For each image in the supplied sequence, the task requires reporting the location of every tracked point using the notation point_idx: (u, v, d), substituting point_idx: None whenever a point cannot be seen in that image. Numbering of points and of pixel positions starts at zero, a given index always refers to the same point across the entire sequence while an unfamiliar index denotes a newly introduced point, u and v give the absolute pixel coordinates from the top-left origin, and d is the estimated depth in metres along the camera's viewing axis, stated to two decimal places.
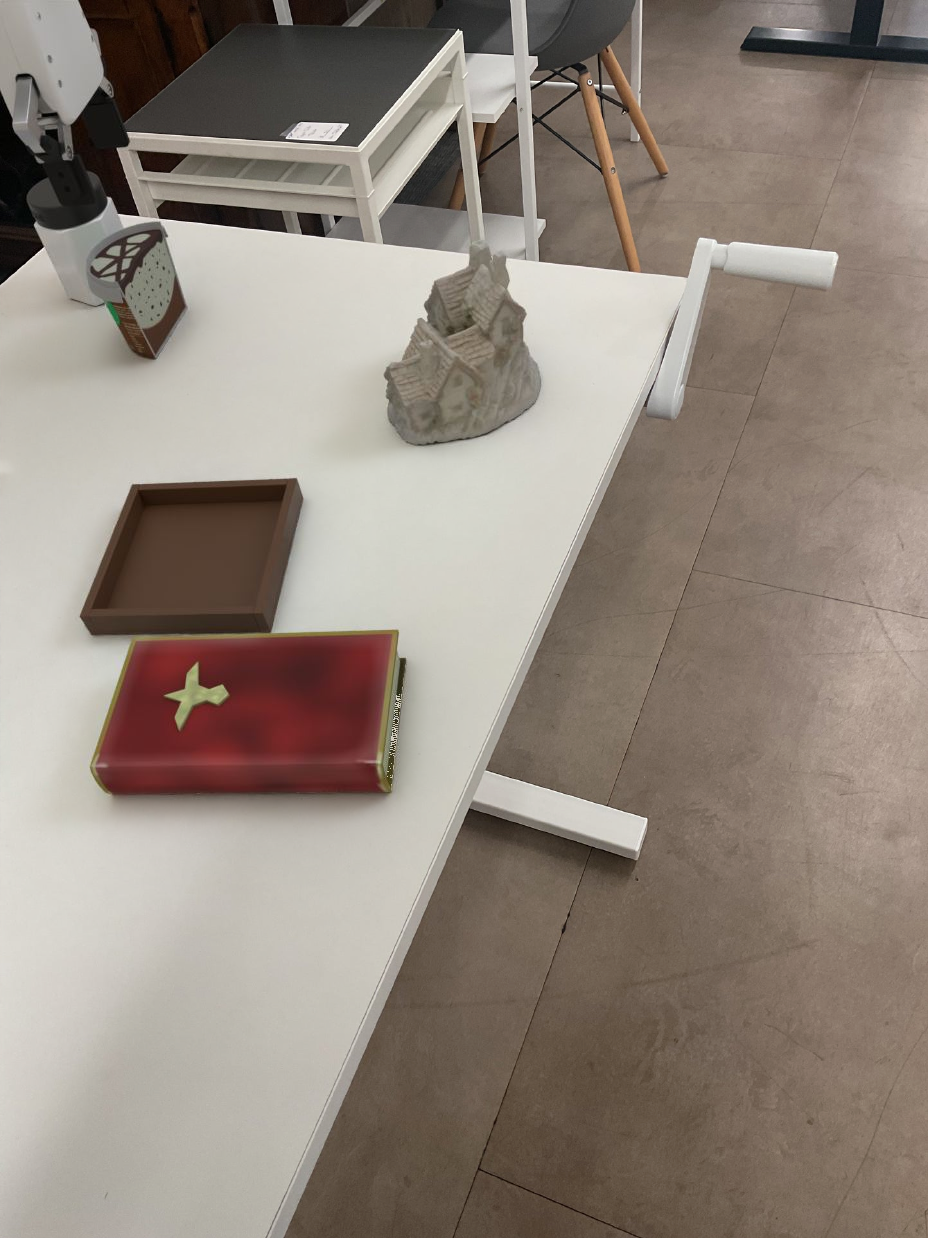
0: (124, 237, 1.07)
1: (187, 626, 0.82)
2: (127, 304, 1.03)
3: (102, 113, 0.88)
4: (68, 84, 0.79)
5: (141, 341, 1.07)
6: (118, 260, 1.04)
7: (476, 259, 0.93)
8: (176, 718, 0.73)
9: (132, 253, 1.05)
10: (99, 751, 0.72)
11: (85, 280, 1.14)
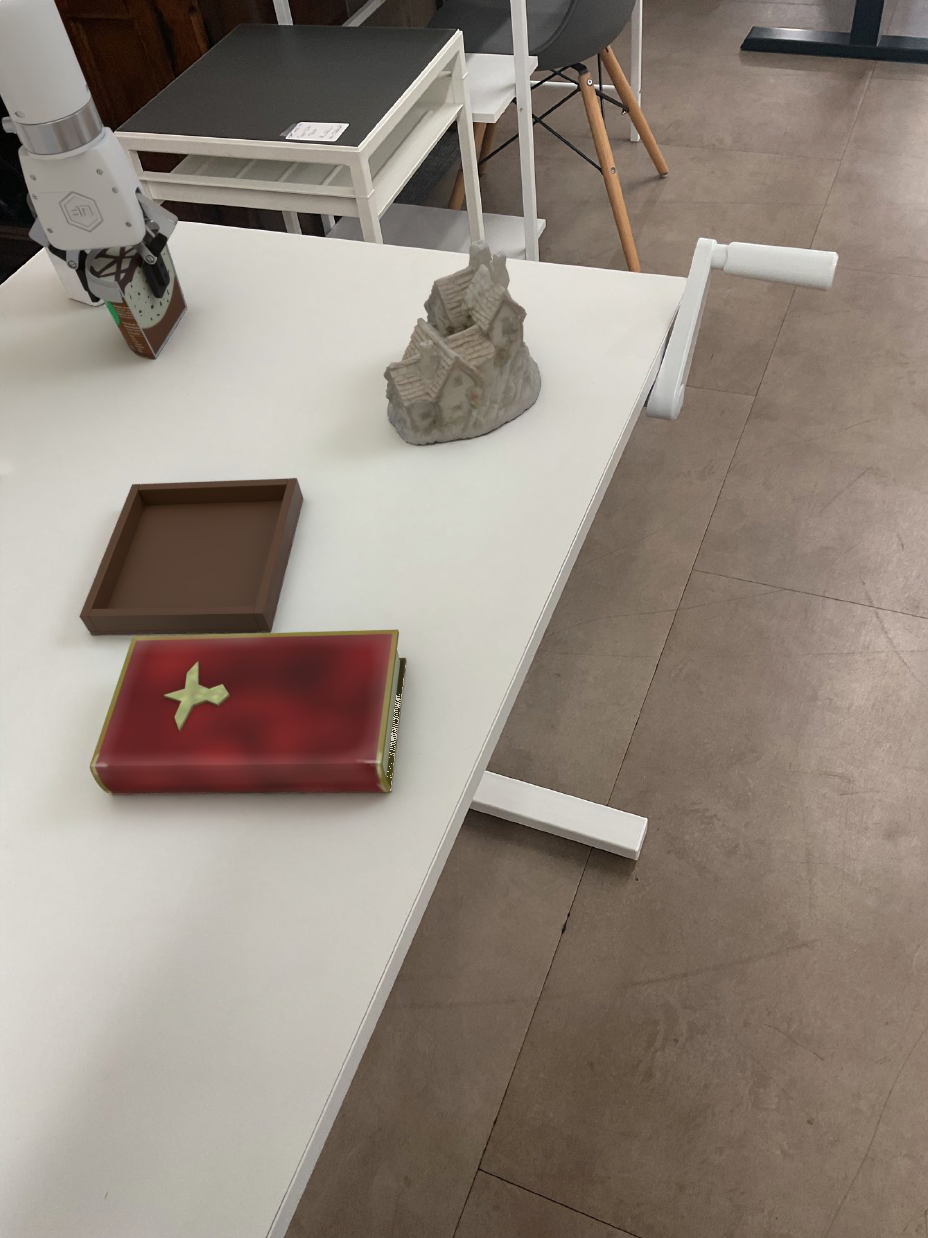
0: None
1: (187, 626, 0.82)
2: (127, 304, 1.03)
3: None
4: None
5: (141, 341, 1.07)
6: (118, 260, 1.04)
7: (476, 259, 0.93)
8: (176, 718, 0.73)
9: (132, 253, 1.05)
10: (99, 750, 0.72)
11: None
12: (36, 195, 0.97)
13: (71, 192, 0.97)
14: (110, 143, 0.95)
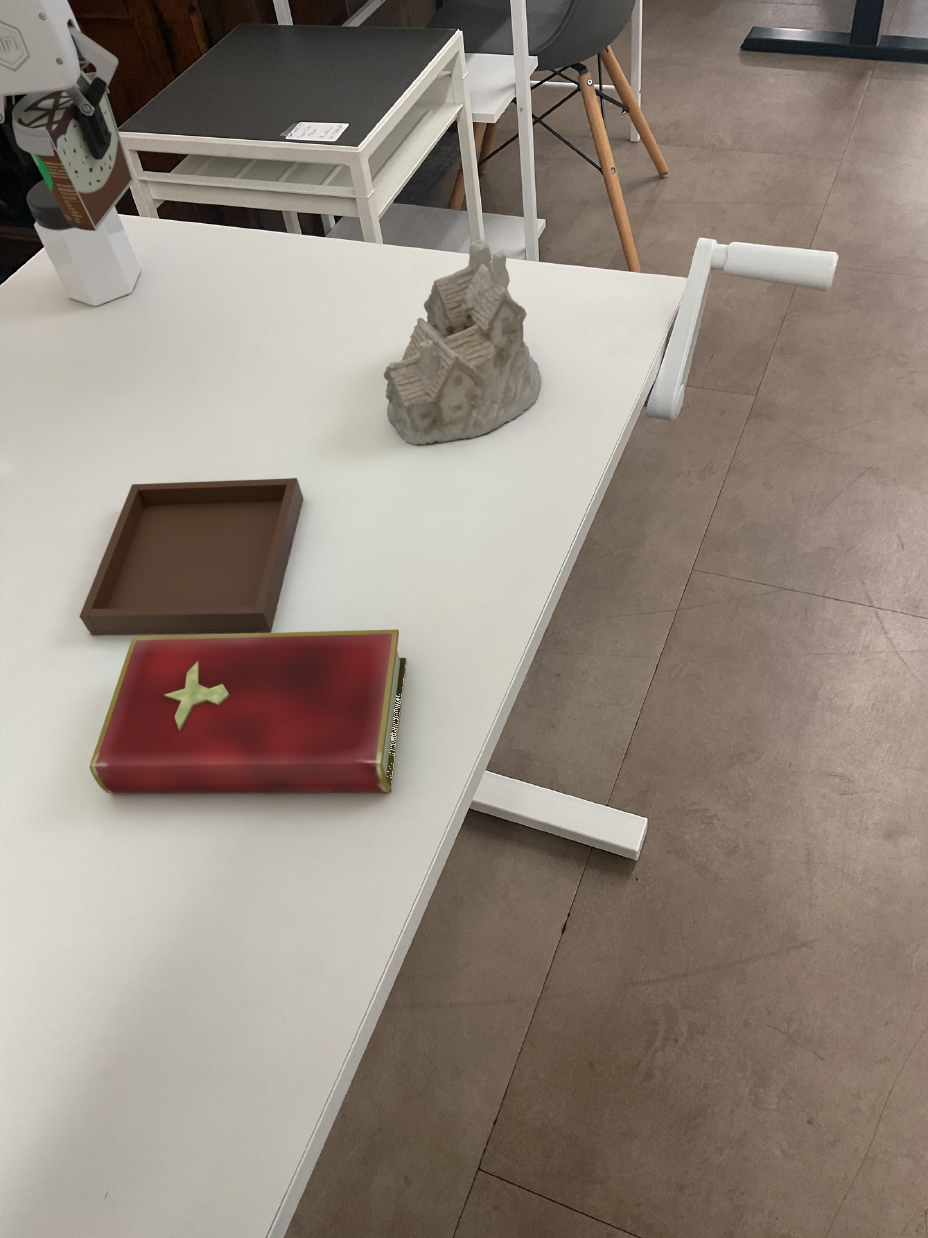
0: None
1: (187, 626, 0.82)
2: (59, 159, 0.90)
3: None
4: None
5: (78, 208, 0.94)
6: (50, 112, 0.92)
7: (476, 259, 0.93)
8: (176, 717, 0.73)
9: (66, 104, 0.92)
10: (99, 750, 0.72)
11: (85, 280, 1.14)
12: None
13: None
14: None
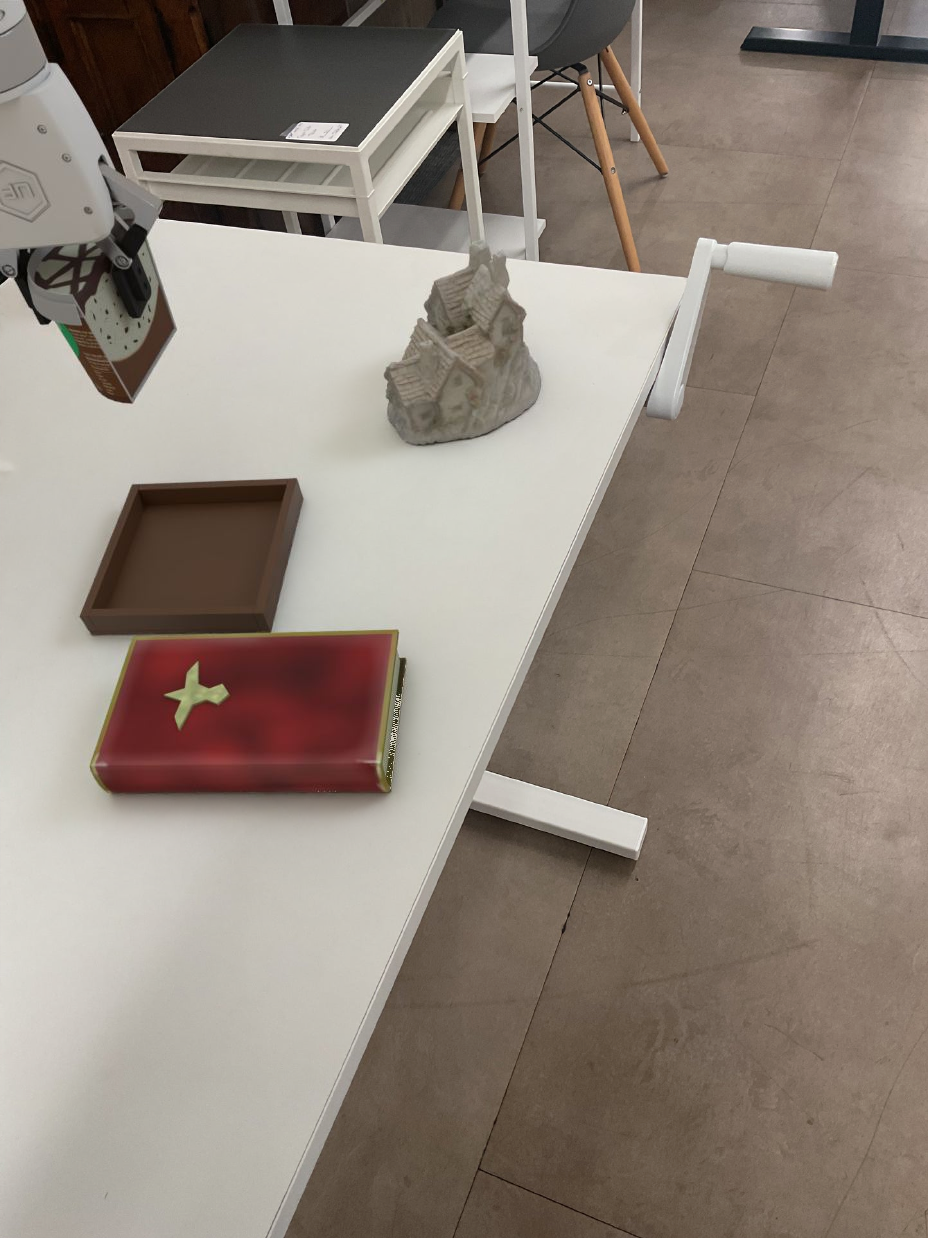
0: None
1: (187, 626, 0.82)
2: (88, 327, 0.70)
3: None
4: None
5: (111, 379, 0.74)
6: (75, 263, 0.72)
7: (476, 259, 0.93)
8: (176, 717, 0.73)
9: (96, 253, 0.72)
10: (99, 750, 0.72)
11: None
12: None
13: (1, 162, 0.64)
14: (57, 85, 0.62)
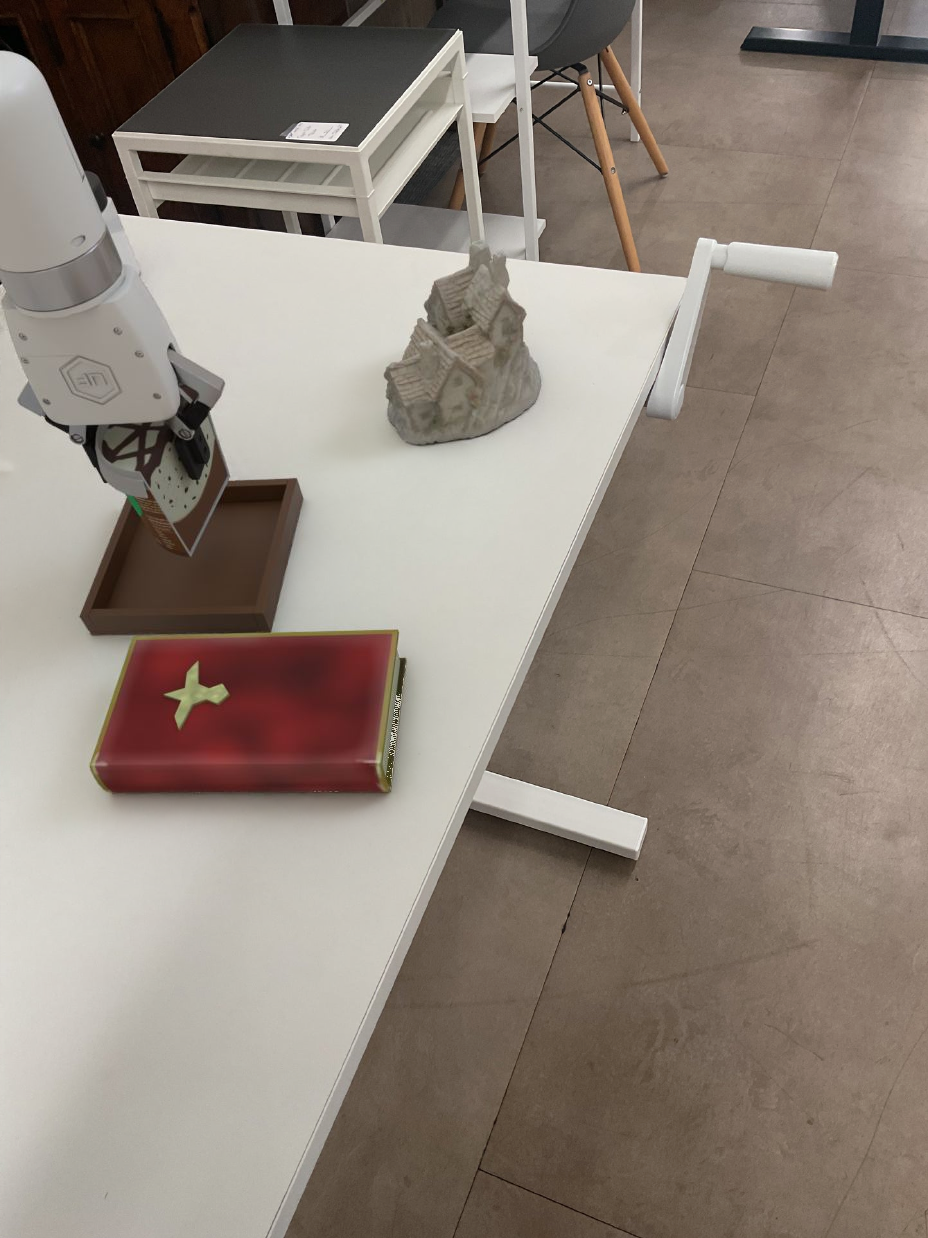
0: None
1: (187, 626, 0.82)
2: (153, 497, 0.74)
3: None
4: None
5: (172, 537, 0.78)
6: (140, 432, 0.76)
7: (476, 259, 0.93)
8: (176, 717, 0.73)
9: (160, 422, 0.76)
10: (99, 750, 0.72)
11: None
12: (27, 358, 0.69)
13: (77, 356, 0.68)
14: (133, 290, 0.66)
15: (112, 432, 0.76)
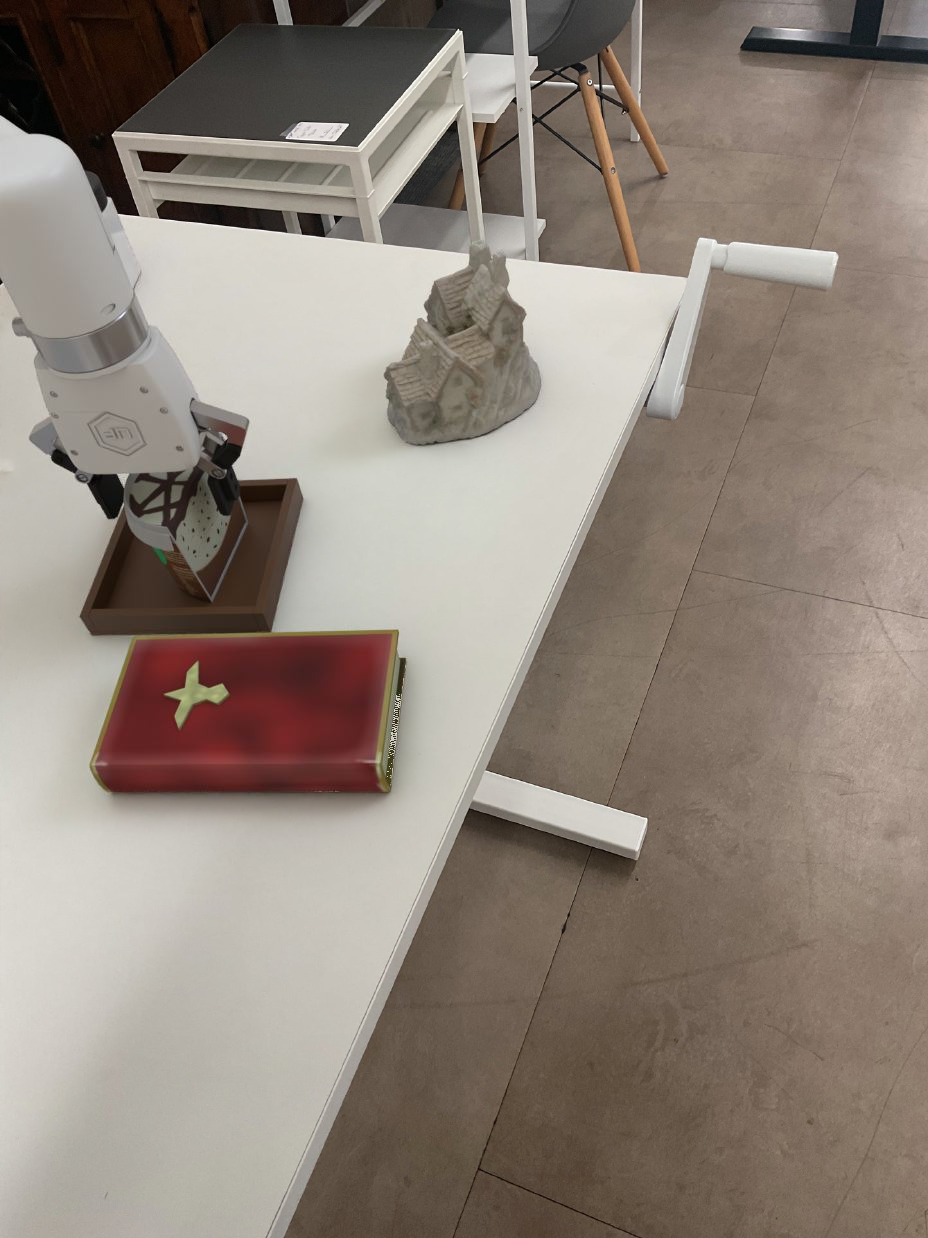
0: None
1: (187, 626, 0.82)
2: (179, 550, 0.78)
3: (109, 476, 0.81)
4: None
5: (195, 585, 0.83)
6: (165, 486, 0.80)
7: (476, 259, 0.93)
8: (176, 717, 0.73)
9: (184, 477, 0.81)
10: (99, 749, 0.72)
11: None
12: (57, 414, 0.73)
13: (105, 412, 0.72)
14: (158, 352, 0.70)
15: (139, 486, 0.81)
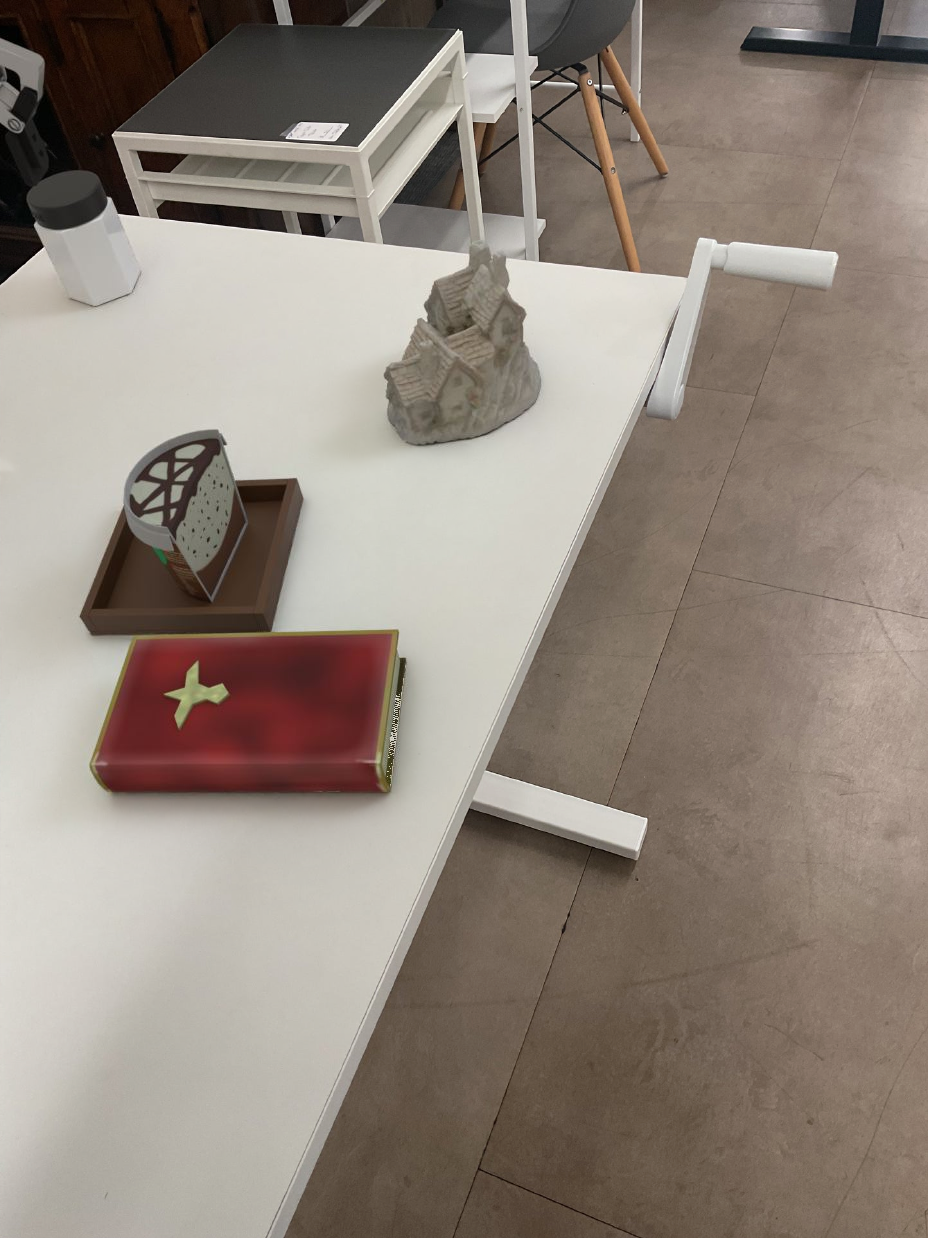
0: (171, 449, 0.83)
1: (187, 626, 0.82)
2: (179, 550, 0.78)
3: None
4: None
5: (195, 585, 0.83)
6: (165, 486, 0.80)
7: (476, 259, 0.93)
8: (176, 717, 0.73)
9: (184, 477, 0.81)
10: (99, 749, 0.72)
11: (85, 280, 1.14)
12: None
13: None
14: None
15: (139, 486, 0.81)
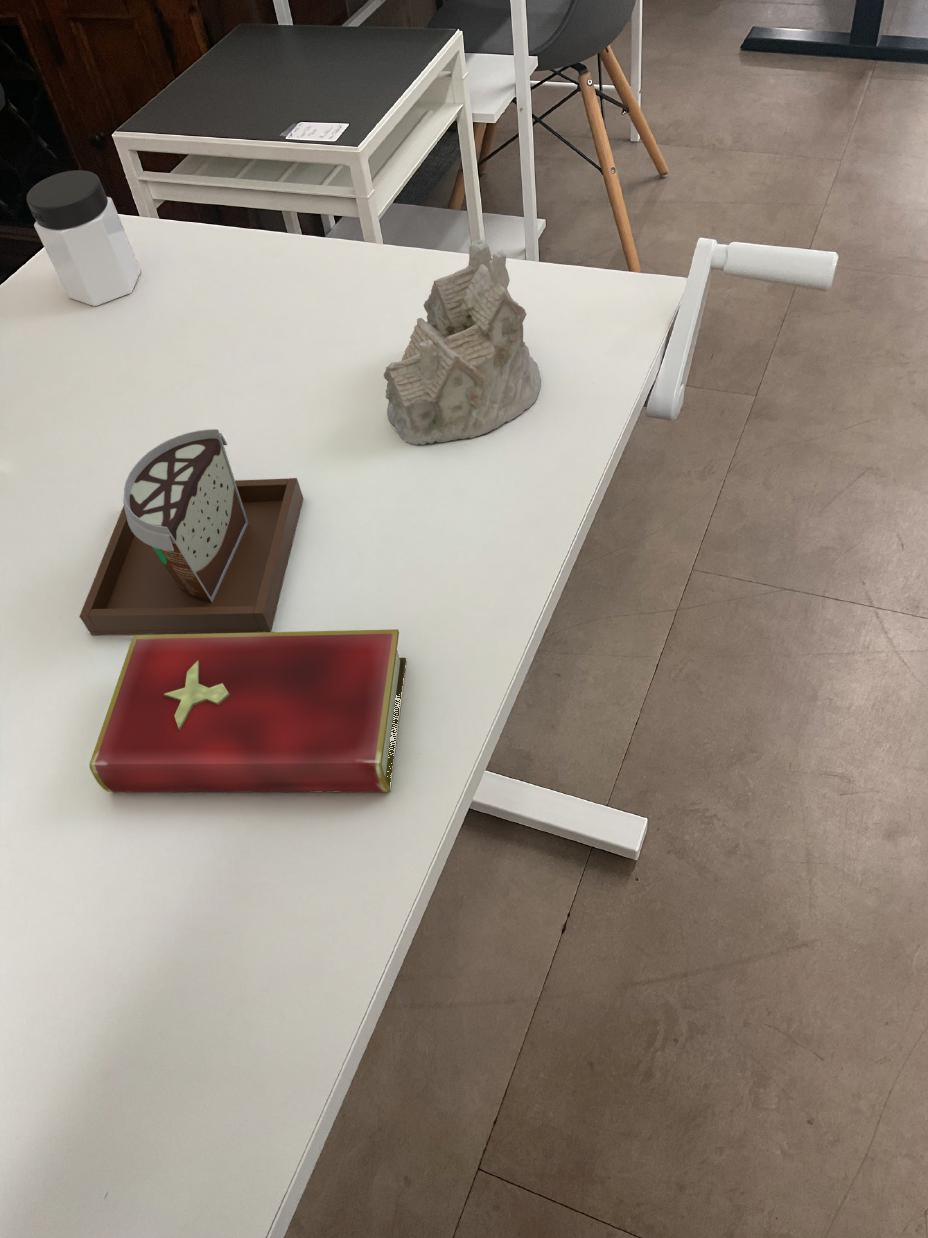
0: (171, 449, 0.83)
1: (187, 626, 0.82)
2: (179, 550, 0.78)
3: None
4: None
5: (195, 585, 0.83)
6: (165, 486, 0.80)
7: (476, 259, 0.93)
8: (176, 716, 0.73)
9: (184, 477, 0.81)
10: (99, 749, 0.72)
11: (85, 280, 1.14)
12: None
13: None
14: None
15: (139, 486, 0.81)
